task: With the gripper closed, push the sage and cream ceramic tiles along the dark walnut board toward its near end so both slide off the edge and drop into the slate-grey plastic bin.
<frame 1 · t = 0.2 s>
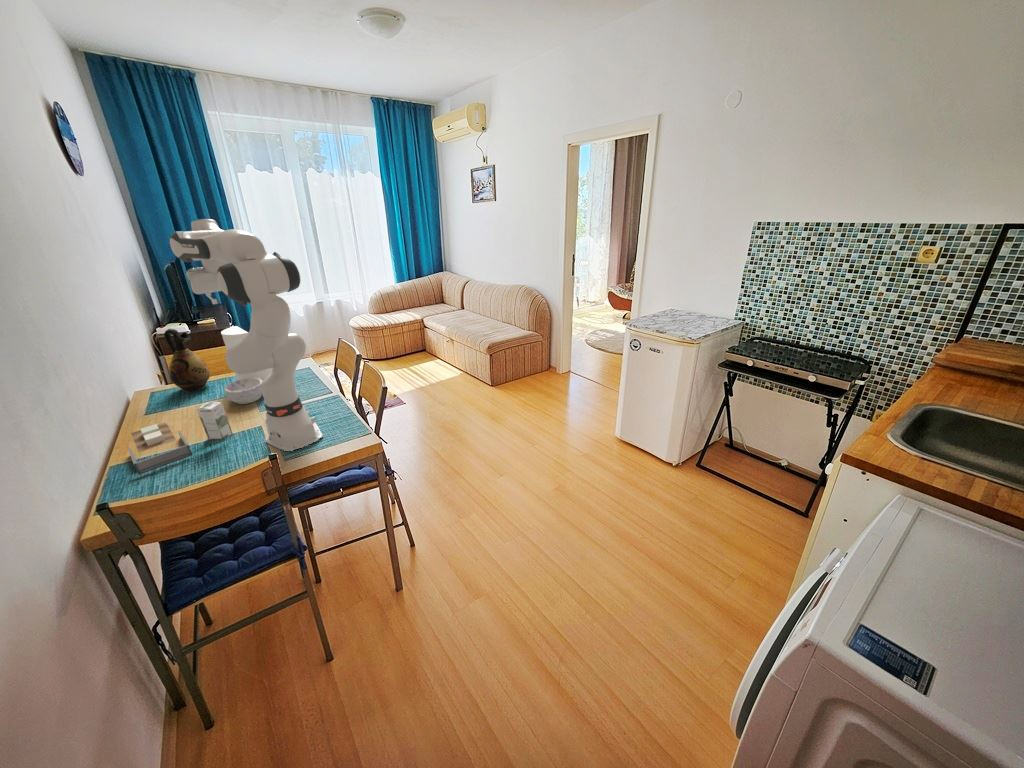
hand: (229, 301, 159), 48 cm above the table, fingers open, 8 cm apart
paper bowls: (249, 400, 187), on the table
ceramic jug: (194, 388, 201), on the table
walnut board: (154, 439, 157), on the table
sage tile: (152, 434, 158), point 1 cm above the table, touching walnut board
cream tile: (155, 440, 154), point 1 cm above the table, touching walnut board
cylinder: (259, 382, 205), on the table
grey bin: (163, 456, 147), on the table
syrup box: (221, 438, 157), on the table
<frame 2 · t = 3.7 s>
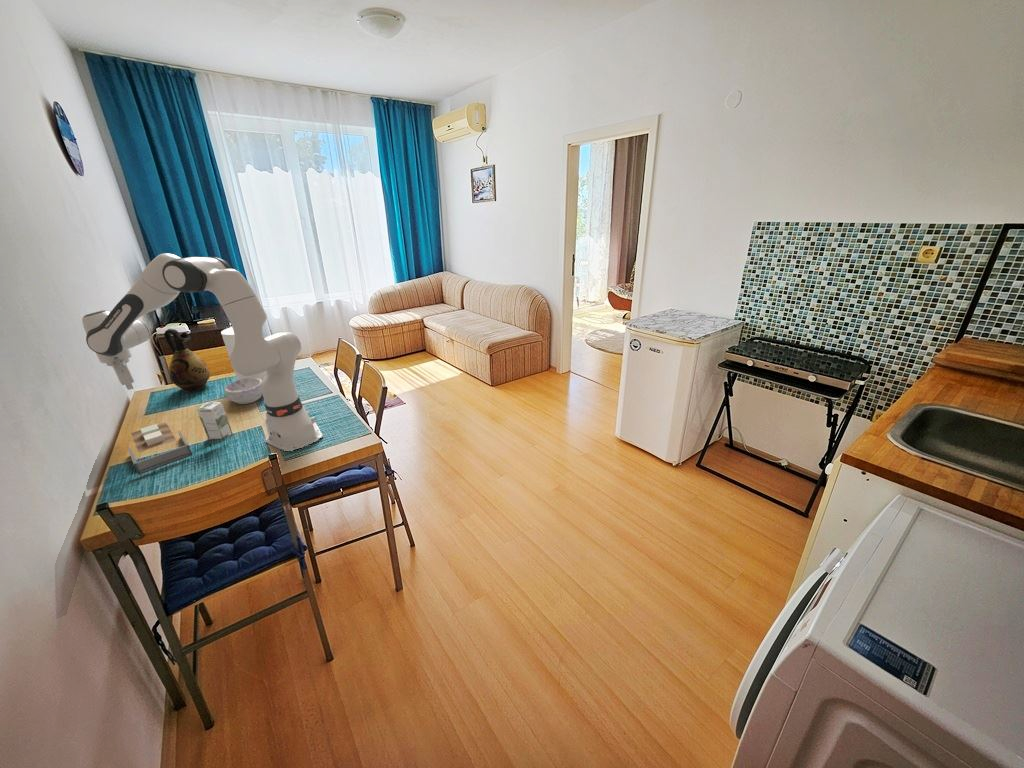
hand: (130, 388, 156), 19 cm above the table, fingers closed
nothing on the table moved.
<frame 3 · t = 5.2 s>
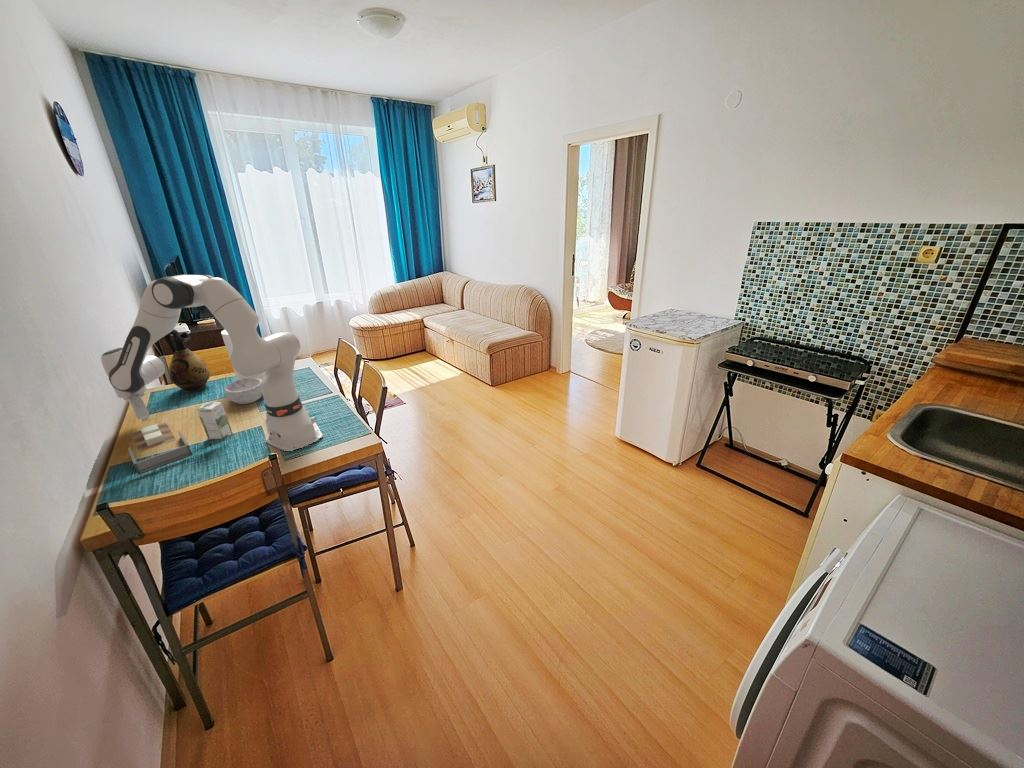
hand: (145, 420, 162), 5 cm above the table, fingers closed
nothing on the table moved.
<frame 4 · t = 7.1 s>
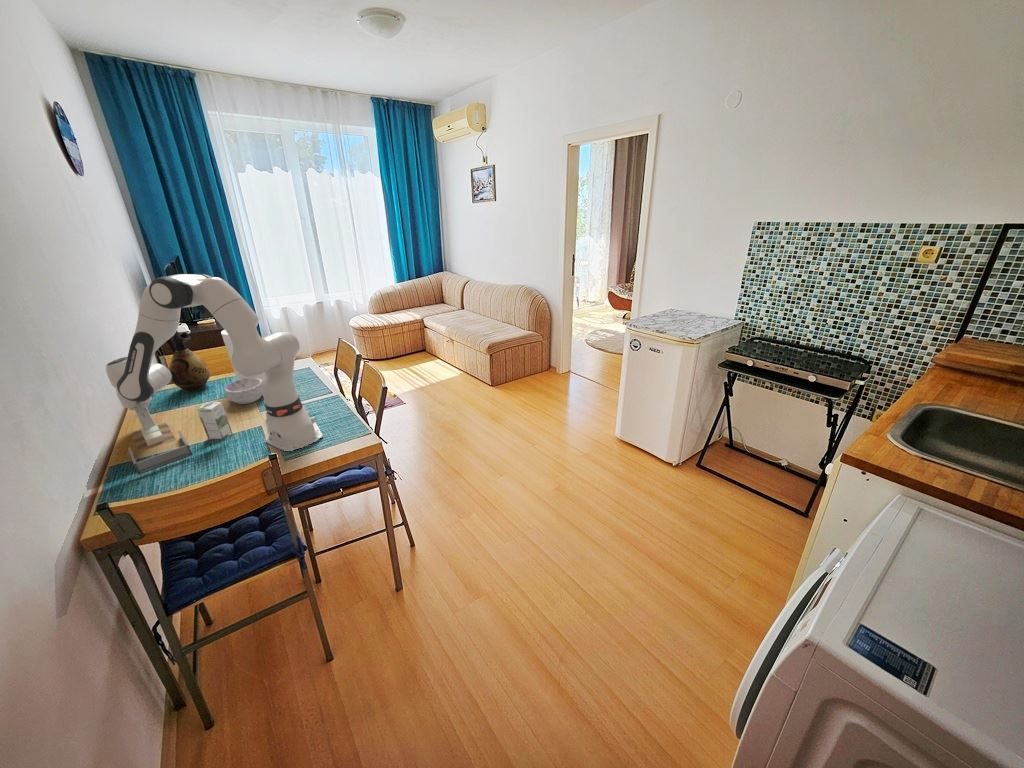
hand: (150, 429, 160), 2 cm above the table, fingers closed
sage tile: (152, 435, 158), point 2 cm above the table, touching gripper
everything else where it was.
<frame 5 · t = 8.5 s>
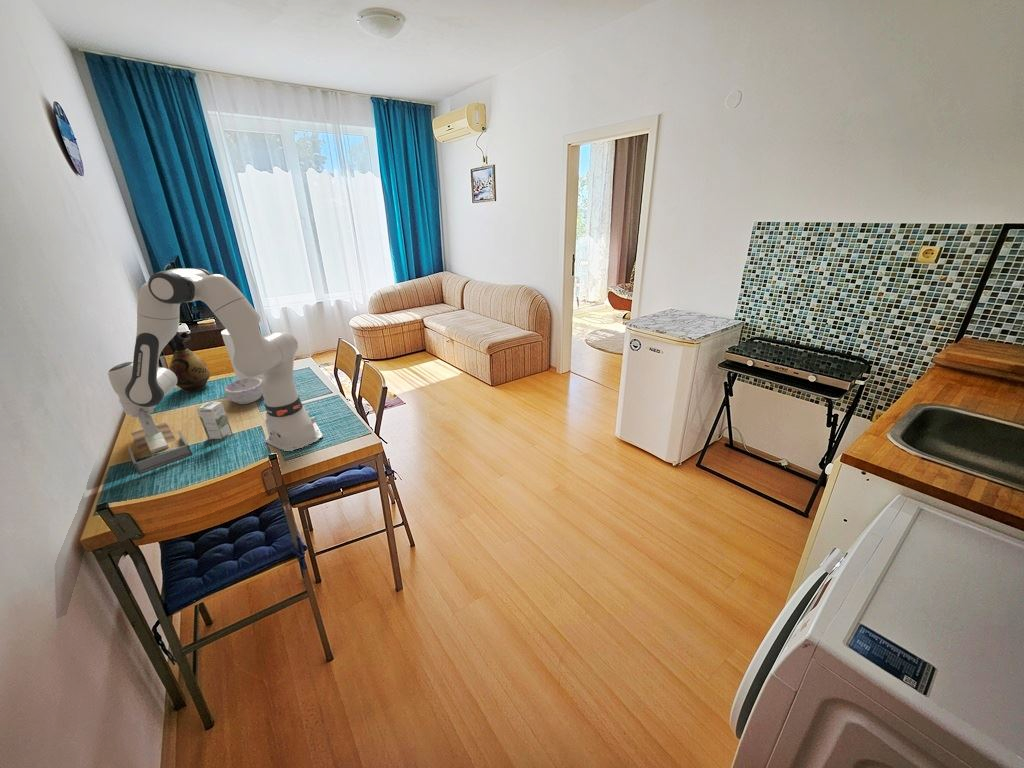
hand: (154, 437, 155), 2 cm above the table, fingers closed
sage tile: (156, 442, 153), point 2 cm above the table, touching cream tile, gripper
cream tile: (159, 448, 150), point 1 cm above the table, tilted 15°, touching sage tile
everything else where it was.
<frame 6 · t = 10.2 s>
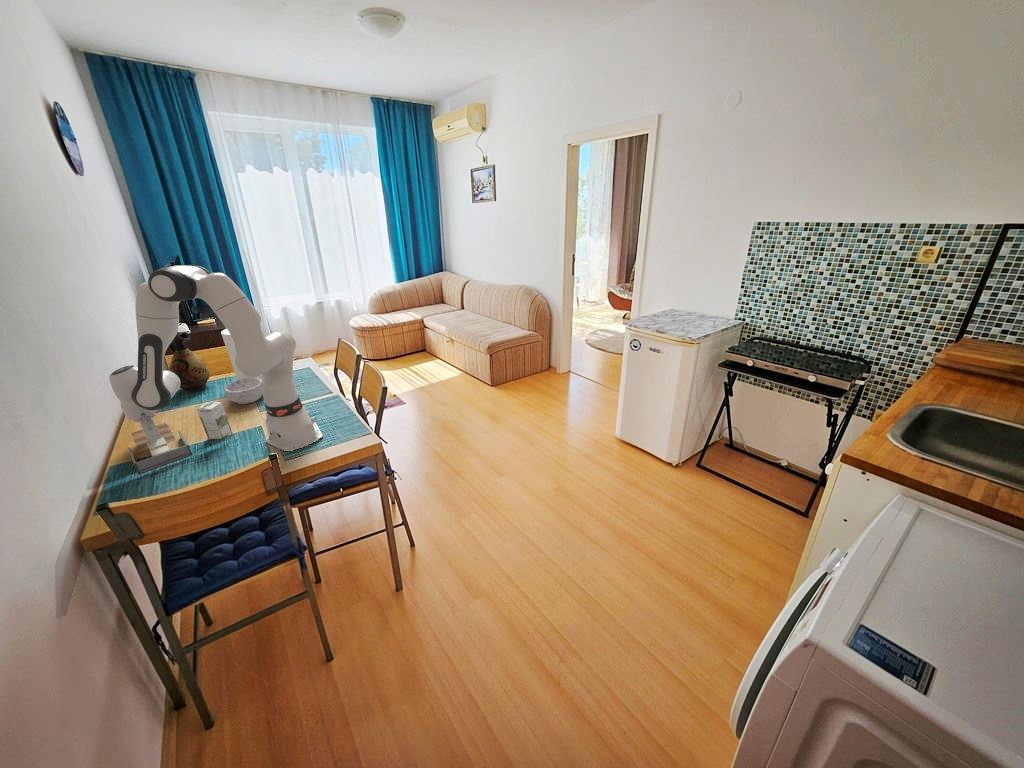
hand: (156, 442, 151), 2 cm above the table, fingers closed
sage tile: (159, 448, 149), point 1 cm above the table, touching cream tile, gripper
cream tile: (162, 455, 146), resting on grey bin, touching sage tile
everything else where it was.
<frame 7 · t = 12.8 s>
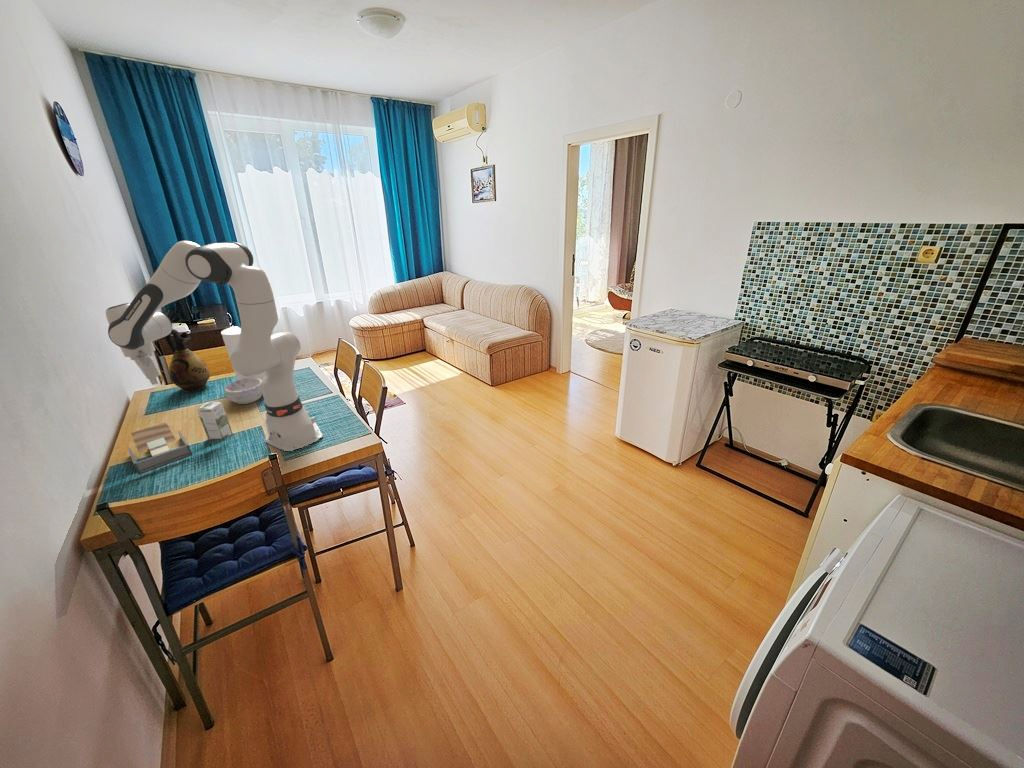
hand: (154, 383, 152), 22 cm above the table, fingers closed
sage tile: (159, 448, 149), point 1 cm above the table, tilted 5°, touching cream tile, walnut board
everything else where it was.
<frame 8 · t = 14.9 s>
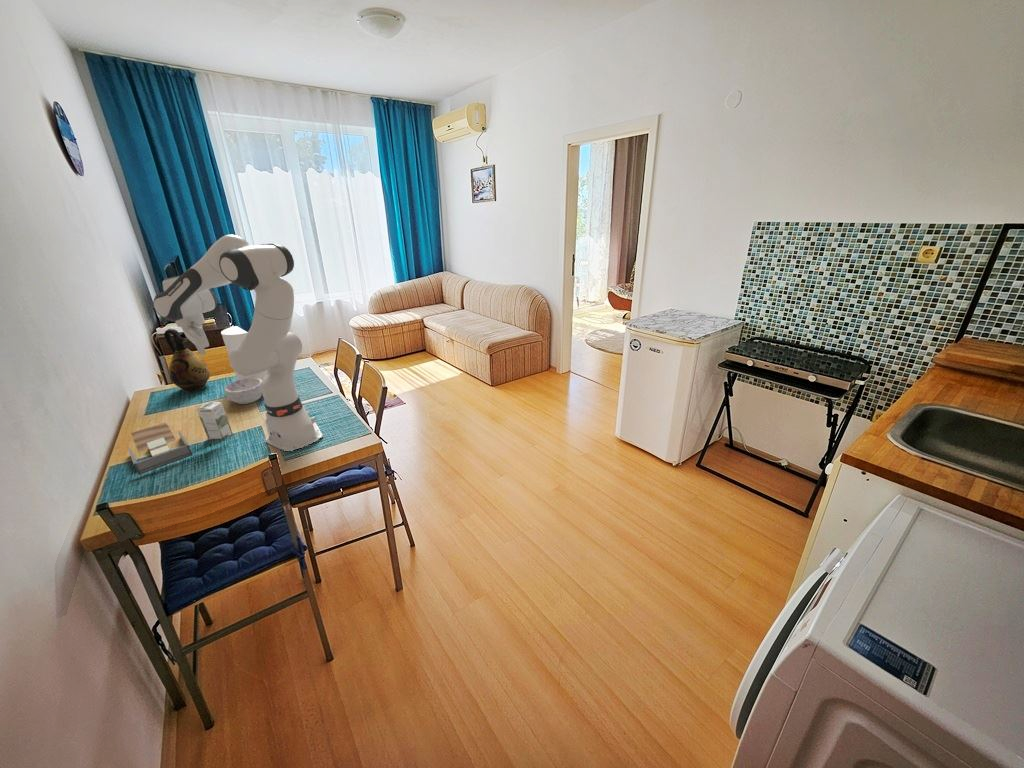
hand: (202, 353, 160), 29 cm above the table, fingers closed
nothing on the table moved.
at the end: sage tile inside the target area (5.2 cm from its centre), point 1.3 cm above the table; cream tile inside the target area (0.0 cm from its centre), resting on grey bin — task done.
